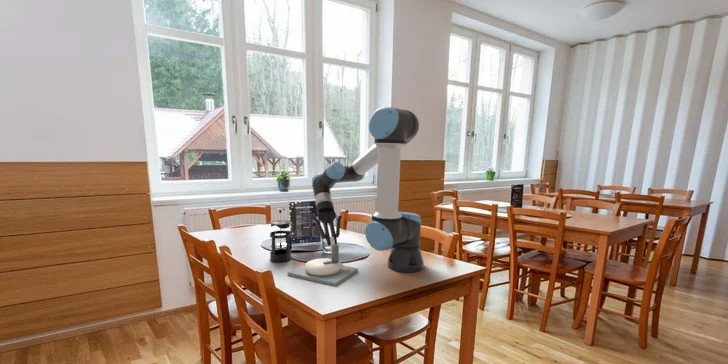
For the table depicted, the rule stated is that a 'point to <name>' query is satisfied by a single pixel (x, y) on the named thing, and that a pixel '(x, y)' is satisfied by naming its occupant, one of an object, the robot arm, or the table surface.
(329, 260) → the dial
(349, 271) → the dial board
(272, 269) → the table surface
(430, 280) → the table surface
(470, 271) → the table surface
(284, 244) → the french press
